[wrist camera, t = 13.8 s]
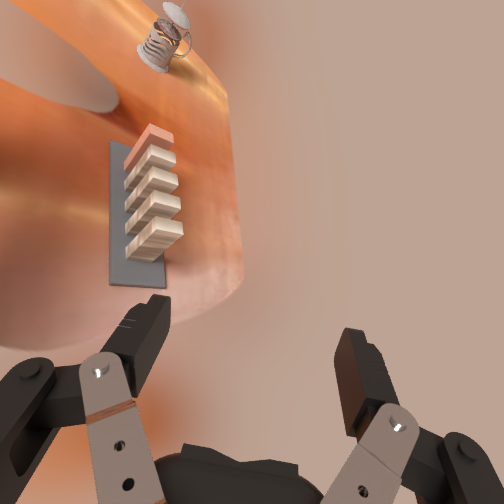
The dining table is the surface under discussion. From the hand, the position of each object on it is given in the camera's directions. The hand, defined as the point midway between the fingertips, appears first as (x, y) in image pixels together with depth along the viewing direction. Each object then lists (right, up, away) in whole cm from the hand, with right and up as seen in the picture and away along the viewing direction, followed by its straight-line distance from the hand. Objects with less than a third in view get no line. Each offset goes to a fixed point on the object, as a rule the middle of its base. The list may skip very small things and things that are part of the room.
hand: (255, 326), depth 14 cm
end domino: (-25, +21, +51) cm, 61 cm away
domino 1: (-24, +16, +49) cm, 57 cm away
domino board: (-24, +11, +48) cm, 55 cm away
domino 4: (-21, +3, +43) cm, 48 cm away
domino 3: (-22, +7, +45) cm, 51 cm away
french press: (-28, +59, +75) cm, 99 cm away
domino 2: (-23, +12, +47) cm, 54 cm away
